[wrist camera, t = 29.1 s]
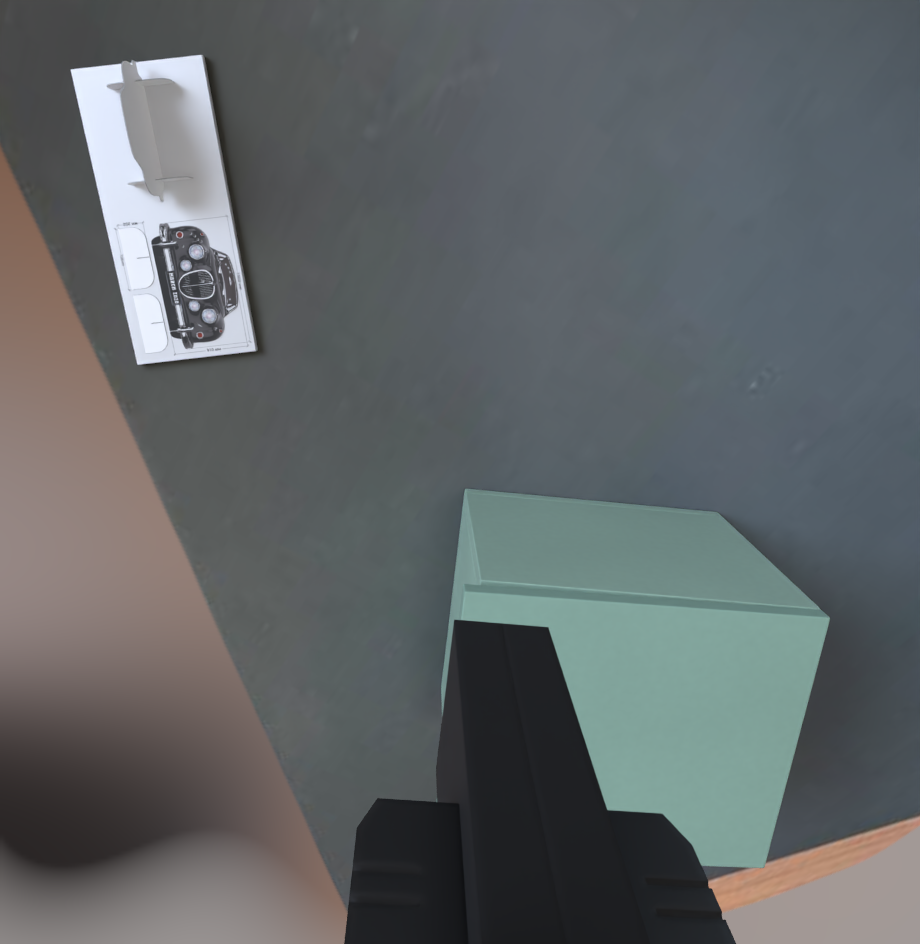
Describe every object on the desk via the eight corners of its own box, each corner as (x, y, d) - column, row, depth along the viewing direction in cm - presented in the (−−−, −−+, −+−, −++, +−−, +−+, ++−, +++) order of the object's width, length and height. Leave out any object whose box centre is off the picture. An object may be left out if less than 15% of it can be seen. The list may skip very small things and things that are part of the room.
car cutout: (73, 70, 41) (32, 51, 36) (204, 56, 41) (178, 35, 37) (139, 363, 45) (109, 377, 41) (257, 349, 45) (240, 362, 41)
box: (440, 688, 52) (447, 836, 39) (464, 488, 48) (480, 579, 35) (676, 705, 53) (757, 855, 40) (717, 511, 49) (821, 608, 36)
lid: (430, 843, 38) (431, 856, 38) (462, 583, 35) (464, 591, 34) (757, 855, 40) (764, 868, 39) (821, 609, 36) (831, 617, 36)
